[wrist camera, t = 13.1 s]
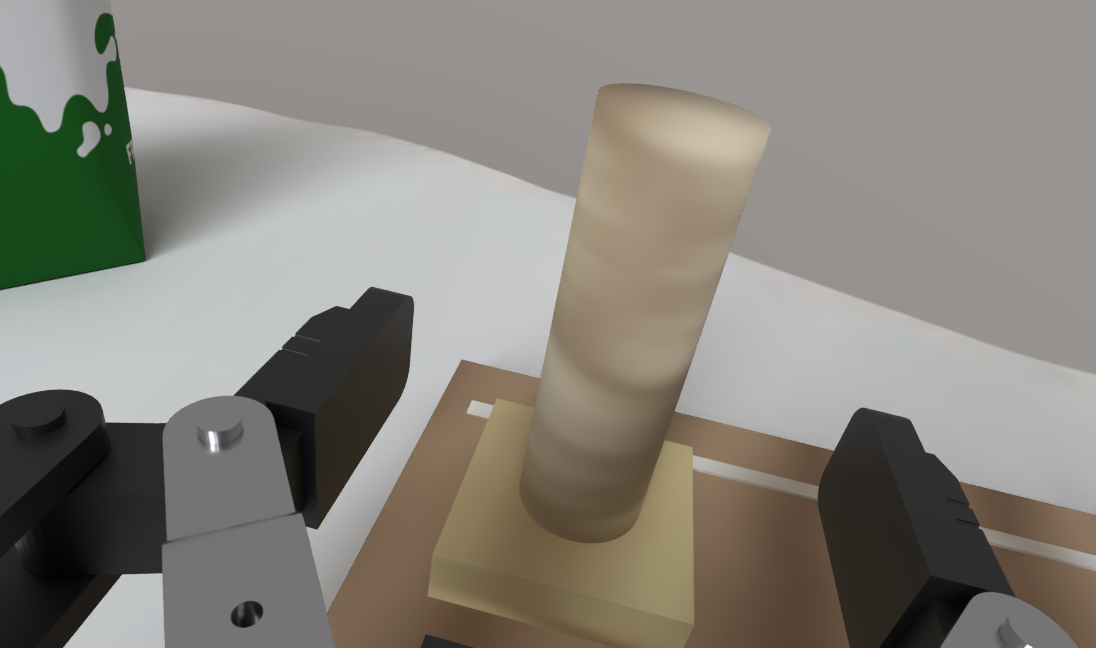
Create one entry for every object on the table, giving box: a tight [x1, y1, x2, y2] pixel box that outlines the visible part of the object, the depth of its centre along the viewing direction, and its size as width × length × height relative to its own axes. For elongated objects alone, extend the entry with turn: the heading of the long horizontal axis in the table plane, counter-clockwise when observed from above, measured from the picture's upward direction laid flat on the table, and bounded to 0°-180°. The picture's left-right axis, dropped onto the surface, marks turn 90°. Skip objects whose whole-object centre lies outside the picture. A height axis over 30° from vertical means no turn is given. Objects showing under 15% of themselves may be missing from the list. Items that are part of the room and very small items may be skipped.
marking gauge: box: [428, 84, 771, 648], centre depth 15 cm, size 6×6×12 cm
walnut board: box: [327, 360, 1096, 648], centre depth 18 cm, size 24×13×2 cm, turn 79°
